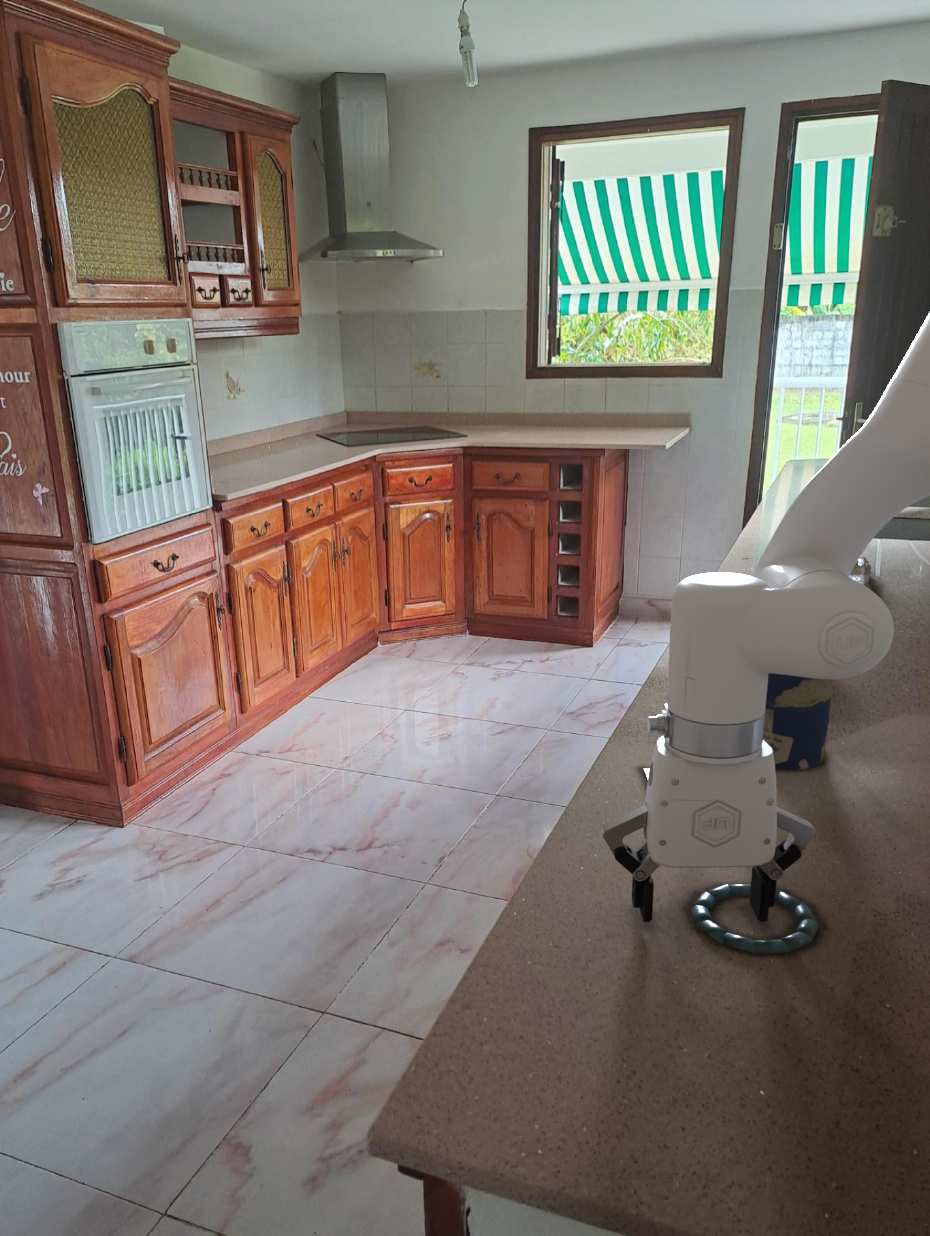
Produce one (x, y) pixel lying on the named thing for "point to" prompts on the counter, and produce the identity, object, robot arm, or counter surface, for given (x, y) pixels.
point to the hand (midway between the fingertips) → (701, 912)
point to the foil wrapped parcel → (861, 572)
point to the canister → (797, 720)
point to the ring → (784, 945)
